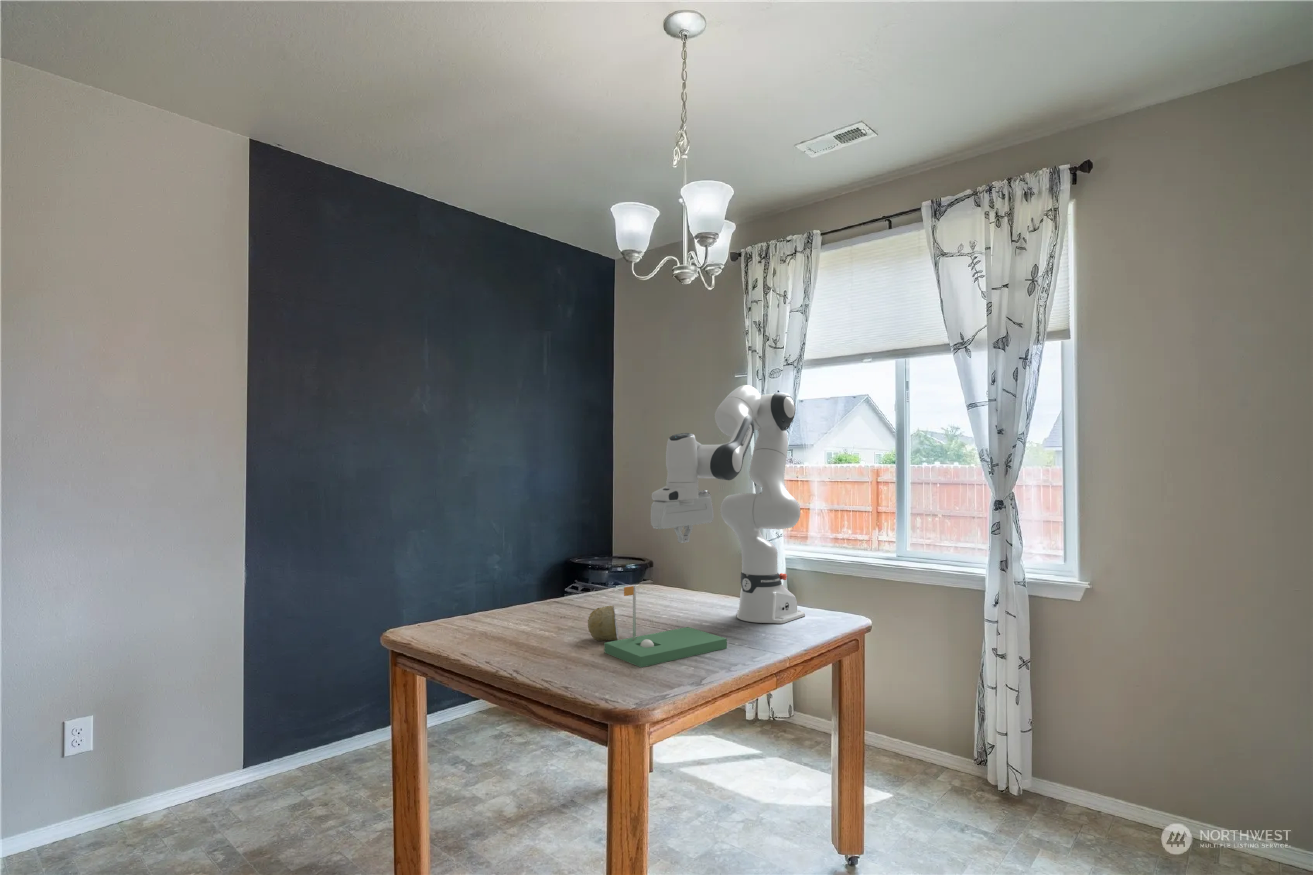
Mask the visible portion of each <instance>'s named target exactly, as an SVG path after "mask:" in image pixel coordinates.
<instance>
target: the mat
mask: <svg viewBox="0 0 1313 875" xmlns="http://www.w3.org/2000/svg"><path fill="white" fill-rule="evenodd" d="M627 596H629V597H630V596H632V637H629V638H623V639H618V640H610V641H607V642H604V643H603V644H604V653H605V654H608V655H609V656H612V657H614V658H617V659H619V660H622V661H624V662H627V663H629V664H632V665H634V666H636V667H639V668H645V667H649V666H654V665H659V664H663V663H666V662H667V663H669V662H670V661H676V660H681V659H685V658H688V657H694V656H699V655H703V654H707V653H711V652H716V651H720V650H725V649H727V648H728V638H726V637H723V636H719V635H715V634H714V633H713V634H712V633H710V632H705V631H703V630H699V629H697V628H692V627H689V626H686V627H681V628H675V629H671V630H663V631H659V632H654V633H650V634H648V633H647V634H643V635H639V636H637V635H636V634H637V586H636V585H631V586H625V587H623V597H627ZM645 639H649V640H651V641H652V642H653V643H654V647H649V648H644V647H642V646H640V644H641V642H642V641H643V640H645Z"/></svg>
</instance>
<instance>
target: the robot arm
mask: <svg viewBox="0 0 1313 875" xmlns="http://www.w3.org/2000/svg"><path fill="white" fill-rule="evenodd" d="M795 416H796V403H795V400H794V399H793V397H792V396H791V395H790V394H789V393H786V392H775V393H764V394H760V392H759V391H758V390H757V389H756V388H755V387H753V386H751V385H748V384H743V385H740V386H738V387H736V388H735V389H733V390H732V391H731V392H730V393H729V394H727V396H726V397H725V398H724V399H723V400H722V401H721V403H720V404H718V407H717V408H716V409H715V412H714V421H715V424H716V427H717V428H718V429H719V430H720V431H721V433H722V434H723V435H726V436H727V437H730V440H729V441H728V442H726V443H719V444H702V443H700V442H699V441H697V439H696V436H695V434H693V433H691V432H682V433H676V434H673V435H671V436H669V437H668V439H667V442H666V449H665V468H666V471H667V477H666V481H665V482H666V483H665V484H666V485H664V486H663V487H661V488H659V489H657V490H655V491H653V492H651V500H653V502H652V503H651V505H650V526H652V529H657V530H664V529H672V528H673V532H675V535H676V536H677V543H679V544H684V543H689V542H690V541H691V538H690V537H691V534H692V532H693V529H694V526H697V525H704V524H710V523H712V522H713V521H714V518H715V514H714V509H713V508H714V507H713V502H712V495H711V493H710V492H709V491H708V490H706V489H702V490H699V479H717V480H723V481H732V480H734V479H735V478H737V476H738V475H739V474H740V472H741V470H742V469H743V468H742V467H743V465H744V458H745V456H746V453H747V450H748V449H749V447H750V444H751V441H752V439H753V436H754V432H755V431H757V437H756V441H755V443H754V444H755V445H754V447H753V452H752V456H751V462H750V467H749V472H748V474H749V477H750V480H751V481H752V483H754V484H756V485H757V486H759V487H761V488H762V491H761V493H753V492H752V493H751V492H750V493H749V492H746V493H745V492H739V493H734V494H729V495H727V496H725V497H724V498H723V500H722V502H721V504H720V509H719V510H720V516H721V519H722V521H723V522H724V523H725V524H726V525H727V527H729V528H730V529H731V530H732V531H733V533H734V534H735V536H736V538H737V540H738V543H739V546H740V552H741V572H740V585H741V589H740V595H739V603H738V604H739V605H738V609H737V612H736V613H737V614H736V619H739V620H741V621H743V622H749V623H759V624H760V623H761V624H762V623H763V624H785V623H787V622H790V621H793V620H798V619H800V618H803V617H806V613H805V611H802V610H799V609H798V602H797V598H796V596H795V595H794V594H793V593H792V592H790V590H789V589H787V588H786V587H785V586H784V585H783V583H782V580H783V581H786V580H787V579H788V575H787V574H786V573H782V572H781V573H779V572H778V550H777V547H776V546H775V544H773V542H771V541H769V540H768V539H766V538H765V537H764V535H762V532H761V530H762V529H765V530H784V529H785V530H786V529H791V528H794V527H795V526H796V525H797V524H798V522H799V521H800V517H801V507H800V505H799V502H798V500H797V499H796V498H795V497H794V496H792V495H791V493H790V492H789V491H788V489H787V487H786V484H785V471H786V465H787V458H788V451H789V450H788V448H789V446H788V445H789V442H788V439H789V438H788V434H787V430H788V429H789V428H790V427H791V423H792V422H793V420H794V418H795ZM683 529H685V531H684V533H683V532H682V531H683Z"/></svg>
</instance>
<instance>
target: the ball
mask: <svg viewBox="0 0 1313 875" xmlns="http://www.w3.org/2000/svg"><path fill="white" fill-rule="evenodd" d="M640 646H642V647H644V648H649V647H654V643H653V642H652V641H651V640H649V639H645V640H643V641H642V642H641V644H640Z"/></svg>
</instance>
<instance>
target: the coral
mask: <svg viewBox="0 0 1313 875" xmlns="http://www.w3.org/2000/svg"><path fill="white" fill-rule="evenodd" d="M615 612H616V611H615V605H607V606H603V607H597V608H595V609H593V610H592V611H591V612H590V615H589V616H588V619H587V628H588V632H589V634H590V635H591V637H592V639H594V641H598V642H604V641H616V640H619V629H618V628H619V627H618V622H617V617H616V613H615Z"/></svg>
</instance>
